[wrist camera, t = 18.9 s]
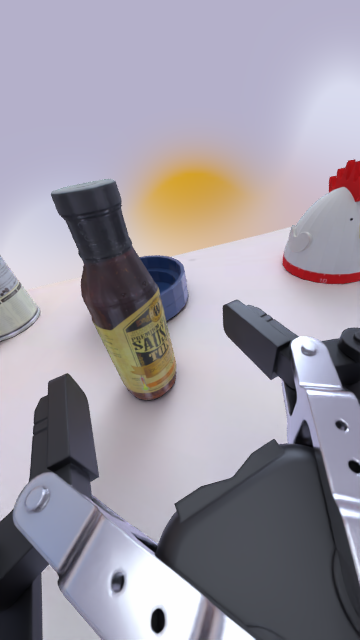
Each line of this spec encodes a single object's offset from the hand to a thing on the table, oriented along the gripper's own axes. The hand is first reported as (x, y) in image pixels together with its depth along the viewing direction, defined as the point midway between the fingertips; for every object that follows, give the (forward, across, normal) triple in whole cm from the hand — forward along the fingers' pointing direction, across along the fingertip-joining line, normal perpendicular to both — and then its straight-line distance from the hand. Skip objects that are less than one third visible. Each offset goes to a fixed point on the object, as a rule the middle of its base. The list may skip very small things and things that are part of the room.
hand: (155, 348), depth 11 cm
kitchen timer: (+15, -35, +14) cm, 41 cm away
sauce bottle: (+9, 0, +14) cm, 16 cm away
